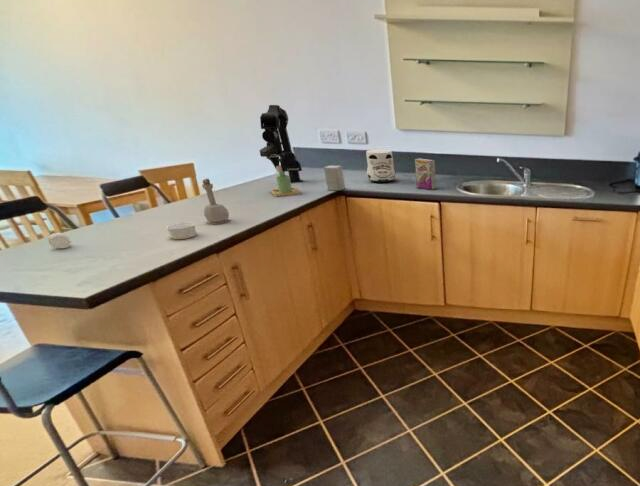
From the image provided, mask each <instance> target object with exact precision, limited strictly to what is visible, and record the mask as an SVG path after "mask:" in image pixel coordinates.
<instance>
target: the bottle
mask: <svg viewBox="0 0 640 486" xmlns="http://www.w3.org/2000/svg"><path fill="white" fill-rule="evenodd" d="M278 174H279V175H276V177H275V178H276V183H277V189H279V192H280V193H290V192H292V188H293V187H292V182H290V177H289V174H288V175H287V174H286V173H285V172H278Z"/></svg>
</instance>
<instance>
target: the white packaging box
mask: <svg viewBox="0 0 640 486" xmlns="http://www.w3.org/2000/svg"><path fill="white" fill-rule="evenodd" d="M323 171H324V177H325V182H326V186H327V191H342V190H345V189H346V184H345V178H344V177H345V176H344V172H343V166H342V165H327V166H325V167H323Z"/></svg>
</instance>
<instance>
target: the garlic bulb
mask: <svg viewBox="0 0 640 486" xmlns="http://www.w3.org/2000/svg"><path fill="white" fill-rule="evenodd" d="M47 242H48V244H49V245H50V246H51V248H55V249H67V248H70V246H71V245H72V240H71V237H70V236H68V235H67V234H66V233H62V232H54V233H52V234H50V235H49V236H48V239H47Z"/></svg>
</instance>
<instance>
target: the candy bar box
mask: <svg viewBox="0 0 640 486" xmlns="http://www.w3.org/2000/svg"><path fill="white" fill-rule="evenodd" d="M435 161H436V160H434V159H426V158H420V157H419V158H415V159H414V168H415V169H414V170H415V180H416V181H415V183H416V184H415V185H416V189H425V190H430V191H433V190H436V189H437V177H436V162H435Z"/></svg>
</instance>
